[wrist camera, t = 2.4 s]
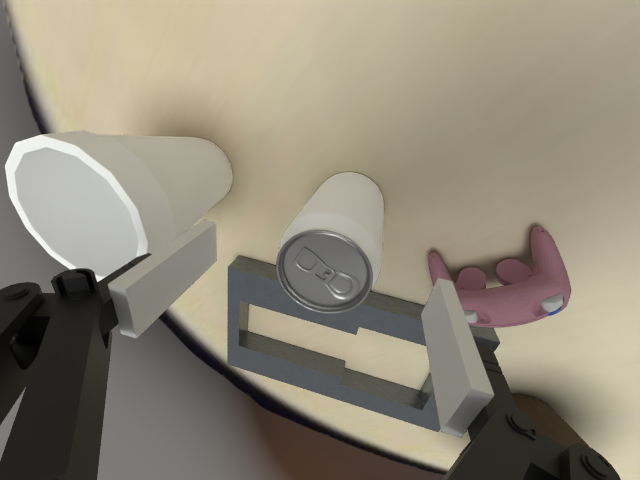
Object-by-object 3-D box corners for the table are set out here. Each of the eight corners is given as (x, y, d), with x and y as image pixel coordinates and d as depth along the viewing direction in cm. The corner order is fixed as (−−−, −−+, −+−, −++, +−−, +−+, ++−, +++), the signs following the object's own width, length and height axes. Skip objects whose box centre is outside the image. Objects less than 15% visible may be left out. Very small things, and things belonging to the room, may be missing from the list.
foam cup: (149, 173, 29) (0, 219, 18) (182, 97, 25) (11, 95, 14) (221, 230, 31) (123, 307, 19) (264, 167, 26) (170, 218, 15)
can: (356, 247, 28) (336, 336, 18) (303, 210, 27) (251, 278, 17) (399, 199, 25) (407, 271, 14) (341, 155, 24) (305, 198, 14)
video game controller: (430, 273, 29) (449, 340, 25) (422, 249, 26) (441, 321, 22) (541, 249, 26) (585, 322, 21) (547, 218, 22) (600, 296, 18)
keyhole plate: (491, 324, 28) (500, 342, 26) (435, 411, 36) (438, 432, 34) (238, 255, 32) (227, 266, 29) (236, 349, 39) (227, 364, 37)
